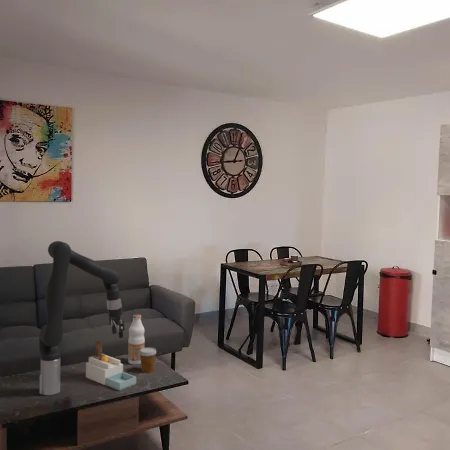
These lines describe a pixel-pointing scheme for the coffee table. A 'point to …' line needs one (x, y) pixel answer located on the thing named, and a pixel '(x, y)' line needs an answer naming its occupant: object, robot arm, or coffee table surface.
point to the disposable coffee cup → (147, 359)
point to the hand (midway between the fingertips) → (117, 335)
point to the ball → (104, 359)
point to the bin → (121, 381)
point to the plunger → (98, 350)
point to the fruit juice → (136, 340)
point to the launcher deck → (102, 369)
